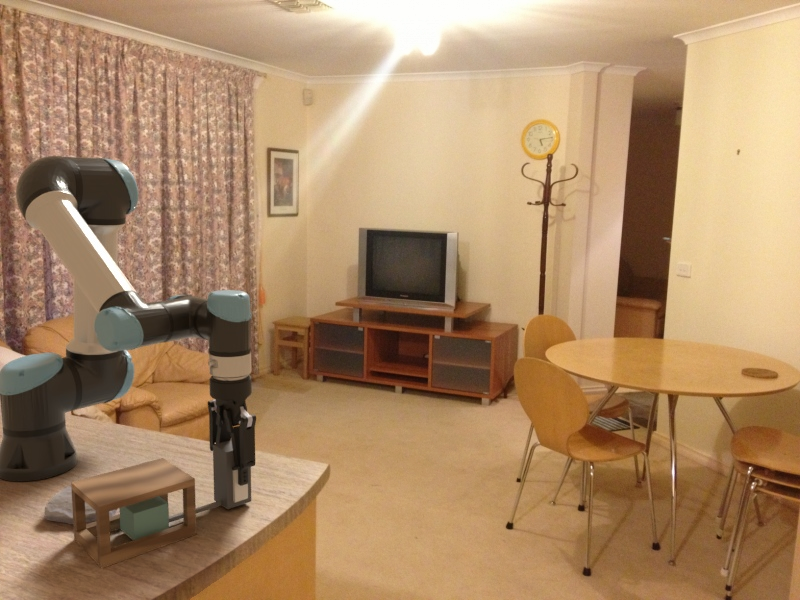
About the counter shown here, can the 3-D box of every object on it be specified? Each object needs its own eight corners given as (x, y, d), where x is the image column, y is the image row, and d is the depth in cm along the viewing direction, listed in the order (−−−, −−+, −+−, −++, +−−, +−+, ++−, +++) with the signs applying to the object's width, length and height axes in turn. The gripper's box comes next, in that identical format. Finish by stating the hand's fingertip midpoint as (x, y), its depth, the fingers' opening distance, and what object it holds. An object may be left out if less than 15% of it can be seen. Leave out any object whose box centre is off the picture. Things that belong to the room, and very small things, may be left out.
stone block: (108, 535, 122) (126, 500, 131) (103, 513, 120) (122, 478, 129) (39, 537, 121) (62, 502, 130) (34, 515, 119) (58, 480, 129)
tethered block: (120, 528, 119) (117, 468, 117) (236, 491, 134) (235, 437, 132) (134, 542, 114) (132, 479, 113) (252, 502, 130) (252, 446, 128)
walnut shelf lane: (74, 539, 116) (71, 482, 115) (164, 510, 127) (162, 457, 126) (102, 568, 108) (98, 506, 106) (196, 534, 119) (194, 478, 117)
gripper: (188, 368, 130) (191, 484, 134) (238, 389, 117) (240, 517, 121) (224, 362, 135) (226, 474, 139) (275, 382, 122) (276, 505, 126)
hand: (232, 494), depth 130 cm, fingers closed on tethered block, 5 cm apart
